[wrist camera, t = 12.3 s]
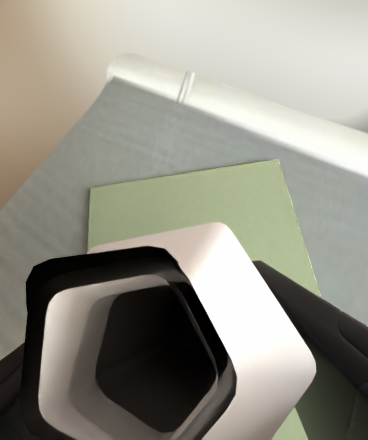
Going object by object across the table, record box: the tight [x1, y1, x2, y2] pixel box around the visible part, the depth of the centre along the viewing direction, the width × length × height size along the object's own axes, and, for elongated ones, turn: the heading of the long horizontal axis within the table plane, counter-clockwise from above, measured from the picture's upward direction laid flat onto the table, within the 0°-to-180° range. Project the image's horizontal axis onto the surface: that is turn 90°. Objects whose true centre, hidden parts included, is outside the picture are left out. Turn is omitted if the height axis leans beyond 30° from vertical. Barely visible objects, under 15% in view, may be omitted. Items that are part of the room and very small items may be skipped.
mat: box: [87, 159, 321, 440], centre depth 16 cm, size 22×16×1 cm
